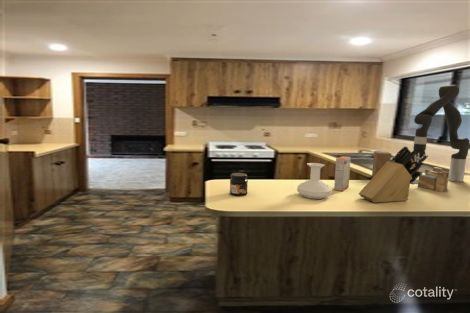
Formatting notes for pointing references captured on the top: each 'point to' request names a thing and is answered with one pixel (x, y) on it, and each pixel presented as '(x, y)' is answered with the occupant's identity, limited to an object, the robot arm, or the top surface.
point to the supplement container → (238, 184)
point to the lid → (434, 171)
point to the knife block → (393, 179)
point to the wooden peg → (431, 172)
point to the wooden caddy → (435, 182)
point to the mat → (415, 182)
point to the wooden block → (380, 161)
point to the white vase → (314, 184)
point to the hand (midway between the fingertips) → (417, 167)
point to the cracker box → (342, 173)
